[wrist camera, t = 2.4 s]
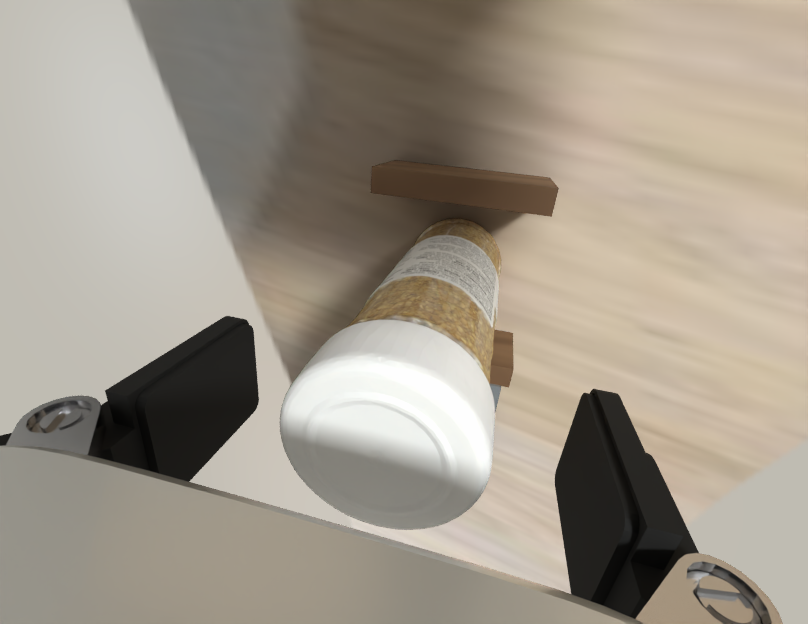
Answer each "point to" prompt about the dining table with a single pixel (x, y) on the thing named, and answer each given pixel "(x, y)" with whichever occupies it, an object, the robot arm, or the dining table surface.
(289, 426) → the sprinkles bottle
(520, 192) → the walnut rack
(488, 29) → the dining table surface
